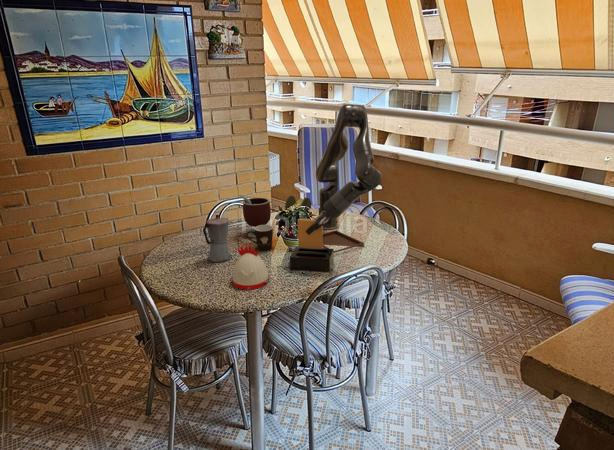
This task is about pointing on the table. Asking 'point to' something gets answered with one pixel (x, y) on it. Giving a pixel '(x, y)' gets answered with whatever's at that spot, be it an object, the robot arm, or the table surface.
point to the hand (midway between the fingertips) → (307, 232)
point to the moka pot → (217, 238)
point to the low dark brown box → (312, 259)
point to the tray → (340, 240)
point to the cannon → (300, 202)
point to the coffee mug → (263, 237)
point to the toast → (309, 240)
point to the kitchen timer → (249, 270)
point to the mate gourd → (256, 212)
